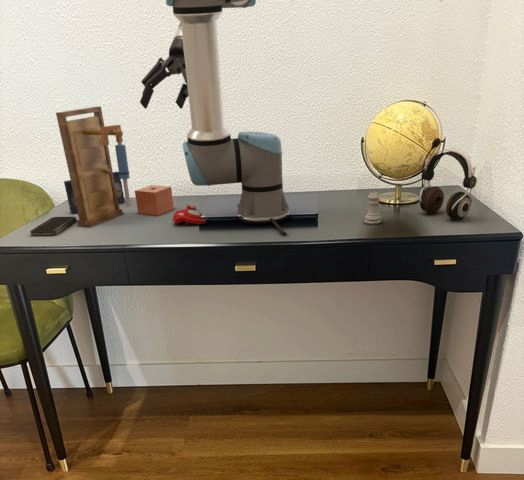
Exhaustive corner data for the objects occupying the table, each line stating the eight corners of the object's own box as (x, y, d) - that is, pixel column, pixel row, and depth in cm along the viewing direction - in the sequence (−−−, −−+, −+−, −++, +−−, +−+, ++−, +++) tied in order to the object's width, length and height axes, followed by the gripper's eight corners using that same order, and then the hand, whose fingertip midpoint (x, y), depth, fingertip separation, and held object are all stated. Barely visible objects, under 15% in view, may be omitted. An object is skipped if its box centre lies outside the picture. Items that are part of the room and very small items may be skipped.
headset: (408, 212, 153) (415, 138, 143) (427, 207, 157) (434, 135, 147) (458, 225, 141) (469, 144, 131) (477, 219, 144) (488, 140, 135)
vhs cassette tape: (73, 214, 171) (66, 182, 166) (69, 212, 173) (62, 180, 168) (125, 202, 180) (120, 172, 175) (122, 201, 182) (116, 171, 178)
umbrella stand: (154, 206, 174) (151, 184, 170) (174, 209, 170) (171, 186, 167) (138, 213, 168) (134, 190, 164) (158, 215, 164) (154, 192, 161)
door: (112, 212, 170) (92, 106, 155) (153, 217, 162) (136, 106, 147) (77, 225, 159) (52, 112, 144) (119, 231, 151) (98, 112, 136)
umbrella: (128, 204, 160) (117, 124, 149) (135, 205, 158) (125, 124, 148) (110, 210, 154) (97, 126, 144) (118, 211, 152) (105, 127, 142)
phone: (77, 216, 163) (54, 231, 150) (77, 220, 164) (55, 235, 151) (52, 216, 164) (28, 231, 151) (53, 220, 165) (29, 235, 152)
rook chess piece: (382, 220, 148) (383, 191, 144) (379, 225, 144) (381, 195, 140) (365, 219, 149) (367, 190, 145) (363, 224, 146) (364, 194, 142)
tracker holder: (213, 218, 154) (182, 216, 148) (210, 232, 156) (179, 231, 151) (195, 200, 162) (165, 198, 156) (192, 214, 164) (162, 213, 158)
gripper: (223, 54, 162) (200, 114, 159) (159, 57, 173) (136, 113, 170) (212, 34, 156) (188, 96, 152) (145, 39, 167) (121, 96, 163)
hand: (160, 105), depth 161 cm, fingers open, 13 cm apart
